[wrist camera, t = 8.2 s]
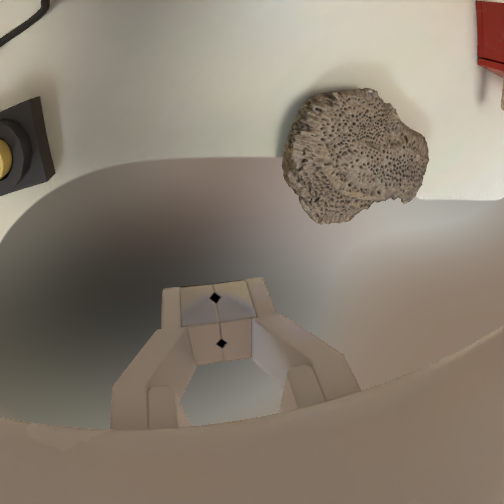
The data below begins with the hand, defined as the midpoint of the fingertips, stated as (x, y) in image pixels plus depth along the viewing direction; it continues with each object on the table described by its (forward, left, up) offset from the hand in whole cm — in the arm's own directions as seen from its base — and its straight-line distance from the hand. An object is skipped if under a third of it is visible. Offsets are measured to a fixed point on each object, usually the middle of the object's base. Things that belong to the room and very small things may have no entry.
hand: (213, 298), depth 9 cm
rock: (+16, -3, -15) cm, 22 cm away
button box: (-18, +3, -20) cm, 27 cm away
